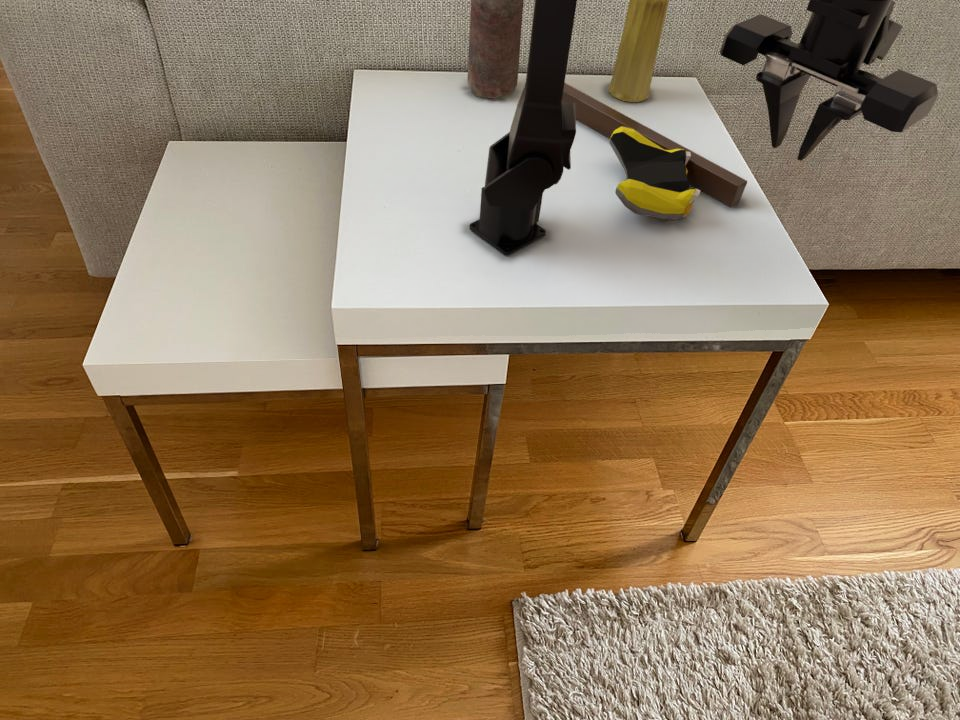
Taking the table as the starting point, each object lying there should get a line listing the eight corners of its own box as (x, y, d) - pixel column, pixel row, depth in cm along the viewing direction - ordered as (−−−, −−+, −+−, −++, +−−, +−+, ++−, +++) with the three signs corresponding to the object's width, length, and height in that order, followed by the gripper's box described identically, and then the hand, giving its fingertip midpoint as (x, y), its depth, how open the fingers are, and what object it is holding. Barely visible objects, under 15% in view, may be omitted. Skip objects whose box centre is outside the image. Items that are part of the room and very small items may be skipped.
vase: (625, 79, 108) (647, -20, 98) (657, 95, 106) (683, -6, 95) (599, 90, 105) (619, -11, 95) (631, 107, 103) (655, 4, 92)
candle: (464, 75, 106) (470, -74, 91) (512, 76, 107) (526, -73, 92) (469, 100, 101) (476, -54, 86) (519, 100, 102) (535, -53, 87)
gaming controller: (610, 228, 82) (695, 235, 82) (619, 188, 78) (709, 195, 78) (603, 159, 92) (679, 166, 92) (611, 120, 88) (690, 127, 88)
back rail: (730, 207, 86) (738, 186, 84) (536, 97, 103) (539, 77, 101) (739, 201, 87) (747, 181, 85) (546, 93, 104) (549, 74, 102)
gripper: (1008, 3, 59) (913, 167, 70) (810, -61, 68) (754, 94, 79) (952, 35, 53) (858, 207, 65) (744, -40, 62) (695, 123, 74)
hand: (788, 152), depth 71 cm, fingers open, 3 cm apart
